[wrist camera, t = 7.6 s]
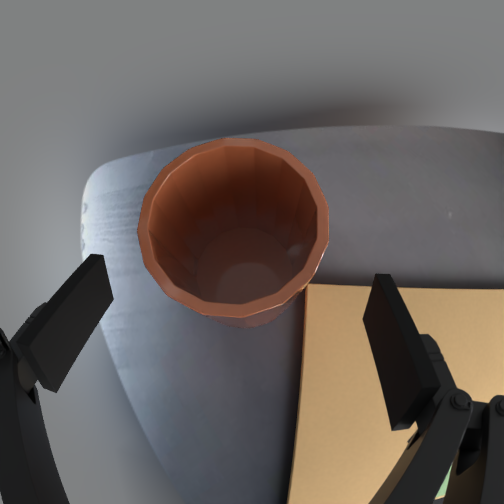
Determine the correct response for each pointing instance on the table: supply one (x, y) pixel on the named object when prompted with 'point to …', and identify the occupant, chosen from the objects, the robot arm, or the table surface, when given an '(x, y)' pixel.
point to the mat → (378, 383)
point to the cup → (234, 230)
